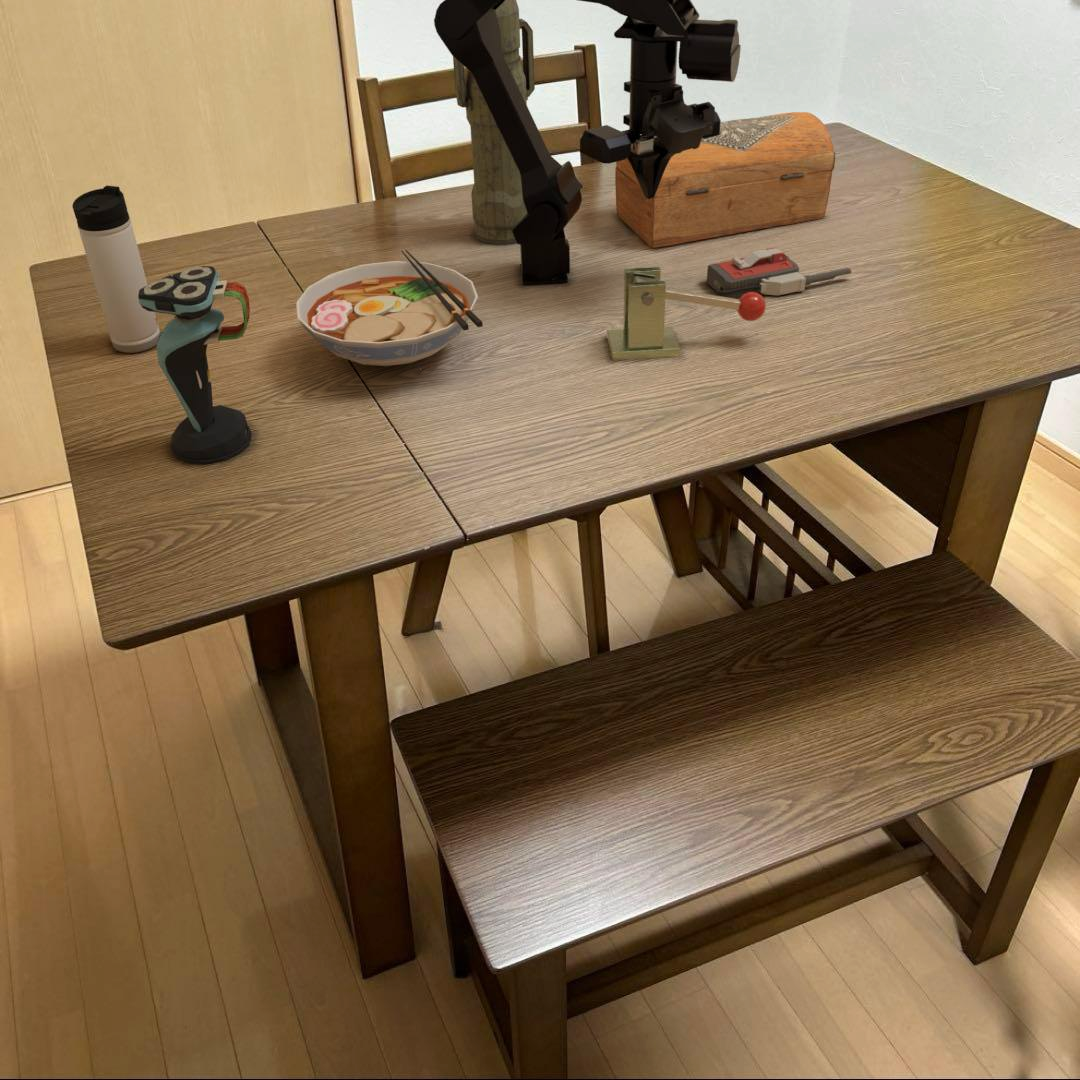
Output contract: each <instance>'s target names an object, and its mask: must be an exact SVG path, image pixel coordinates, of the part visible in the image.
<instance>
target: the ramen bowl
mask: <svg viewBox="0 0 1080 1080" xmlns="http://www.w3.org/2000/svg"><path fill="white" fill-rule="evenodd" d="M404 250H405V252H406V253H405V252H404V251H403V250H401V251H400V252H401V253H402V255H403V256H404V258H406V260H407V261H402V260H392V261H383V262H374V263H366V264H365V263H364V264H360V265H356V266H352V267H349V268H346V269H343V270H340V271H336V272H332V273H330V274H328V275H326V276H324V277H322V279H319V280H317V281H315V282H314V283H312V284H310V285H309V286H307V287H306V289H305V290H304V291H303V292H302V294H301V295H300V297H299V298H298V300H297V301H296V302H295V304H296V305H295V306H296V318H297V320H298V322H299V323H300V324H301V326H302V327H303V328H304V329H305V330H306V331H307V332H308V333H309V334H310V335H311V336H312V338H314V339H315V340H316V341H318V342H319V343H320V344H321V345H322V346H323V347H324V348H325V349H327V350H328V351H329V352H331V353H332V354H334V356H337V357H339V358H342V359H345V360H348V361H350V362H351V361H352V362H354V363H358V364H361V365H364V366H380V367H390V366H396V365H399V366H400V365H406V364H412V363H415V362H417V361H419V360H423V359H426V358H428V357H431V356H433V355H435V354H437V353H438V352H440V351H441V350H442V349H443V348H445V347H446V346H448V345H450V344H451V343H452V342H453V341H455V339H456V338H457V337H458V336H459V335H460V333H461V332H462V330H463V331H469V329H470V327H469V324H468V320H470V321H471V322H472V323H473V324H474V325H475V326H476V327H477V328H481V327H483V321H482V320H481V319H480V318H479V317H478V316H477V315H476V314H475V313H474V312H473V310H474V307H475V305H476V302H477V301H478V298H479V295H478V293H477V290H476V287H475V284H474V282H473V280H471V279H470V278H468V277H466V276H464V275H463V274H461V273H460V272H458V271H457V270H455V269H452V268H449V267H446V266H441V265H437V264H434V263H430V262H423V261H419V260H418V259H416V257H415V256H413V255H412V254H411V253H410V252H409V251H408V250H407V249H404ZM410 257H411V259H410ZM412 260H413V261H412Z"/></svg>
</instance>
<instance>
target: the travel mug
mask: <svg viewBox="0 0 1080 1080" xmlns="http://www.w3.org/2000/svg"><path fill="white" fill-rule="evenodd" d="M125 199H126V198H125V195H124V192H123V191H121V189H120V186H116V185H105V186H103V188H97V189H93V190H90V191H87V192H84V193H83V194H81V195H79V196H78V197H76V198H75V199H74V200H73V202H72V205H71V207H72V210H73V213H74V217H75V219H76V224H77V229H78V231H79V235H80V240H81V242H82V246H83V249H84V253H85V255H86V260H87V263H88V267H89V269H90V273H91V277H92V280H93V283H94V287H95V291H96V293H97V297H98V301H99V303H100V307H101V310H102V314H103V317H104V321H105V324H106V328H107V330H108V333H109V336H110V337H109V338H110V341H111V344H112V347H113V348H114V349H115V350H116V351H118V352H121V353H125V354H135V353H142V352H145V351H148V350H150V349H152V348H155V347H157V341H158V338H159V336H160V334H161V329H160V326H159V323H158V319H157V315H156V312H151V311H147V310H146V309H144V308H142V306H141V305H140V303H139V300H138V294H139V290H140V289H141V288H143V287H145V286H147V285H149V284H148V280H147V277H146V273H145V269H144V266H143V261H142V257H141V254H140V250H139V247H138V243H137V239H136V235H135V231H134V227H133V224H132V220H131V216H130V215H129V211H128V206H127V203H126V200H125Z"/></svg>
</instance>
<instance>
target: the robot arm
mask: <svg viewBox="0 0 1080 1080" xmlns="http://www.w3.org/2000/svg"><path fill="white" fill-rule="evenodd" d="M504 1H505V0H443V1H442V2H441V3H439V5H438V7H437V8H436V11H435V15H434V18H433V24H434V29H435V32H436V33H437V36H438V37H439V39H440V40H441V41H442V43H443V44H444V45H445V47H446V49H447V50H448V52H449V53H450V54H451V56H452V58H453V57H454V58H455V59H457V60H458V61H459V62H460V63H461V64H462V65H463V66H464V68H465V69H466V70H467V69H468V70H469V71H470V72H471V74H472V75H473V77H474V79H475V82H476V84H477V86H478V88H479V90H480V92H481V94H482V96H483V98H484V100H485V102H486V104H487V106H488V108H489V110H490V112H491V114H492V116H493V118H494V120H495V123H496V125H497V127H498V129H499V131H500V133H501V135H502V137H503V139H504V141H505V143H506V145H507V147H508V149H509V151H510V153H511V155H512V157H513V159H514V162H515V164H516V166H517V168H518V170H519V172H520V176H521V186H522V197H523V201H524V204H525V207H526V211H527V214H526V215H525V216H524V217H523V219H522V220H521V221H520V222H519V223H518V224H517V225H516V226H515V228H514V229H513V230H512V232H513V235H514V237H515V240H516V244H517V245H519V249H520V250H519V253H520V264H519V272H520V279H521V285H522V286H535V285H552V284H553V285H554V284H566V283H568V281H569V278H568V275H570V273H571V254H570V253H571V247H570V246H571V245H570V243H569V240H568V239H567V238H566V234H565V227H567V225H568V224H569V222H571V220H572V219H573V218H574V216H575V215H576V214H577V212H578V211H579V210H580V208H581V205H582V202H583V197H582V196H583V195H582V192H581V190H582V189H583V184H582V183H581V182H580V181H579V180H578V178H577V176H576V173H575V171H574V167H573V164H572V163H571V161H570V160H567V161H565V162H564V163H563V164H561V163H560V162H558V161H557V160H556V159H555V158H554V157H553V156H552V155H551V153H550V152H549V149H548V148H547V145H546V143H545V141H544V138H543V137H542V135H541V133H540V131H539V129H538V126H537V124H536V121H535V120H534V118H533V115H532V114H531V113H532V112H531V111H530V109H529V107H528V104H527V105H526V103H525V101H524V99H523V96H522V94H521V92H520V90H519V88H518V86H517V84H516V82H515V79H514V77H513V75H512V73H511V71H510V69H509V67H508V65H507V62H506V60H505V58H504V56H503V52H502V43H501V32H500V26H499V22H498V19H497V16H496V12H495V10H496V9H497V8H498V7H499V6H500V5H501V4H502V3H503V2H504ZM577 1H578V2H586V3H594V4H600V5H602V6H605V7H608V8H609V9H610V10H612V11H615V12H616V13H618V14H619V15H622V16H625V17H626V18H625V20H624V22H623V24H622V25H621V26H619V27H618V28H617V30H615V31H614V33H613V37H614V38H616V39H625V40H628V39H629V40H630V62H629V63H630V68H629V69H630V70H629V71H630V72H629V80H628V81H624V82H623V91H624V92H626V93H628V94H629V113H628V114H623V117H622V118H623V120H622V123H623V125H626V126H628V129H626V130H619V129H617V128H615V127H613V126H610V125H608V124H604V125H600V126H596V127H593V128H589V129H585V130H583V132H582V134H581V135H580V137H579V153H581V154H583V155H585V156H587V157H589V158H591V159H593V160H595V161H597V162H599V163H601V164H613V163H616V162H617V161H621V160H625V159H626V158H627V159H628V161H629V162H630V164H631V166H632V168H633V170H634V173H635V175H636V177H637V180H638V182H639V185H640V187H641V189H642V192H643V194H644V196H645V198H647V199H652V198H654V197H655V194H656V191H657V189H658V186H659V184H660V181H661V179H662V176H663V173H664V171H665V169H666V166H667V164H668V162H669V160H670V159H671V157H672V156H674V155H675V154H678V153H681V152H682V151H685V150H688V149H692V148H693V149H697V148H699V146H700V143H701V140H702V138H703V139H706V138H710V137H714V136H717V135H720V126H721V122H722V120H721V118H720V115H719V114H718V112H717V111H716V107H715V106H714V105H713V104H712V103H711V102H710V101H706V102H702V103H698V104H697V103H692V104H686V103H685V99H684V90H683V85H680V84H679V83H677V65H678V69H679V70H681V74H682V75H686V78H687V79H688V80H697V81H698V80H699V81H712V82H713V81H714V82H726V83H727V82H728V83H734V82H735V80H736V77H737V75H738V69H739V64H740V58H741V49H742V45H741V44H740V33H739V29H738V28H739V21H738V20H737V19H721V20H713V19H699V18H700V14H699V12H698V10H697V9H696V7H695V5H694V4H693V2H692V0H577ZM678 42H679V50H678ZM677 63H678V64H677Z"/></svg>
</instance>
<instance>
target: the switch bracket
mask: <svg viewBox="0 0 1080 1080" xmlns="http://www.w3.org/2000/svg"><path fill="white" fill-rule="evenodd" d="M661 271H662V270H661V267H660V266H653V267H637V268H634V267H633V268H624V272H623V273H624V277H623V278H624V279H623V323H622V325H623V326H622V327H623V328H622V329H609V330H606V339H607V343H608V348H609V352H610V356H611V359H612V361H624V360H640V359H654V358H655V359H659V358H673V357H680V356H681V355H680V353H681V348H680V345H679V342H678V339H677V337H676V334H675V331H674V328H673V326H665V312H666V299H665V294H666V288H667V283H666V281H665V280H661V274H662V273H661ZM635 276H639V277H646V278H652V279H656V280H657V281H654V282H637V283H633V281H634V277H635Z"/></svg>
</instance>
